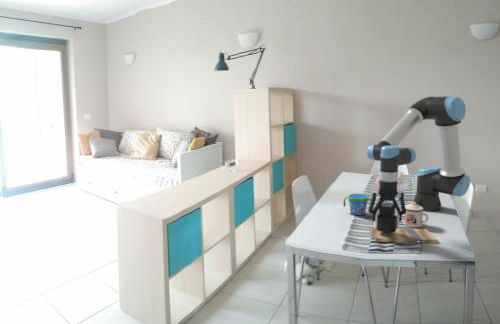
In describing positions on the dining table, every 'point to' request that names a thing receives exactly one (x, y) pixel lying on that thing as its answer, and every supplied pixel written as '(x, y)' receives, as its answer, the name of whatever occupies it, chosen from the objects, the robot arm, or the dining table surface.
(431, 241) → the plywood board
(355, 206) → the snack cup
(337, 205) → the dining table surface
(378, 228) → the ink bottle
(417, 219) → the teacup with lid
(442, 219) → the dining table surface
